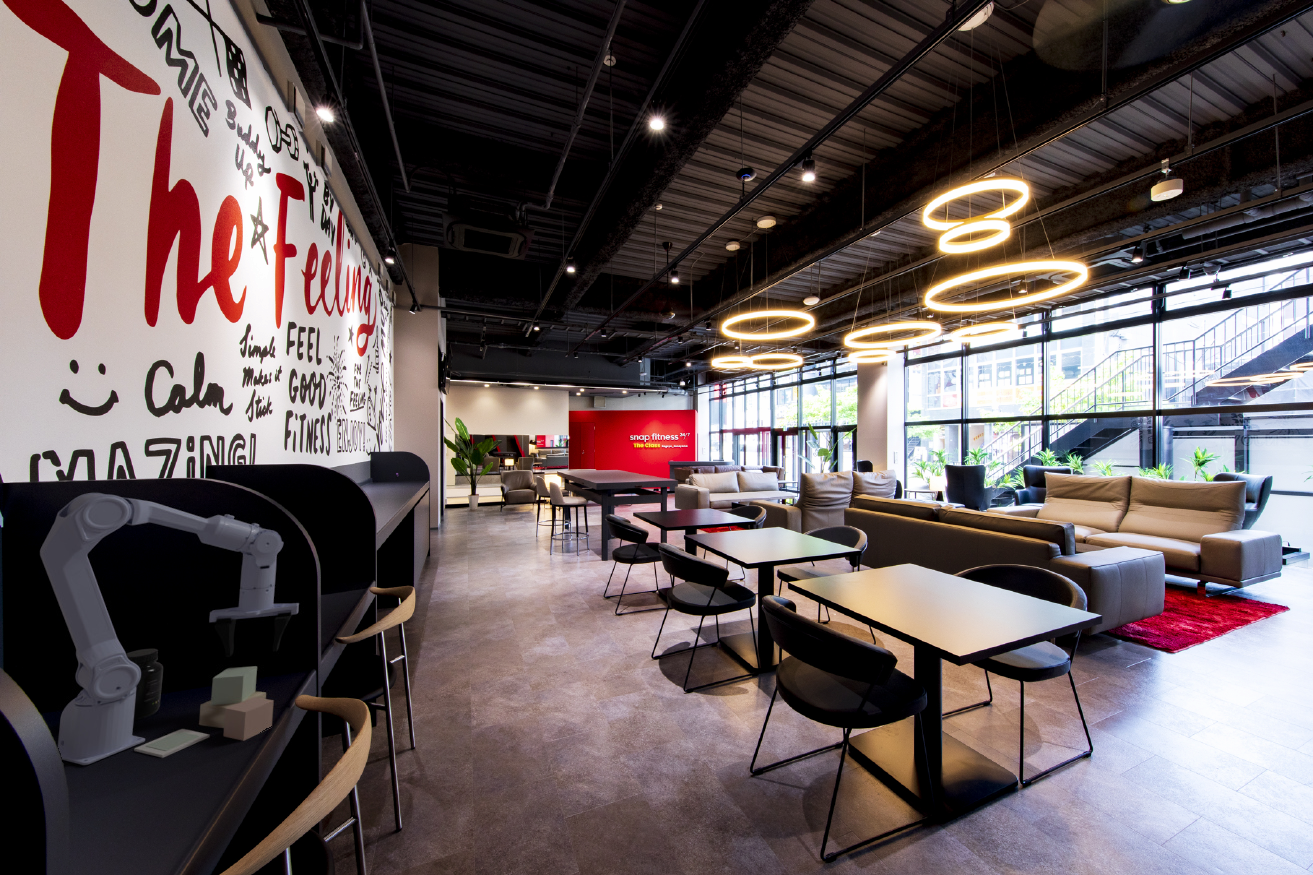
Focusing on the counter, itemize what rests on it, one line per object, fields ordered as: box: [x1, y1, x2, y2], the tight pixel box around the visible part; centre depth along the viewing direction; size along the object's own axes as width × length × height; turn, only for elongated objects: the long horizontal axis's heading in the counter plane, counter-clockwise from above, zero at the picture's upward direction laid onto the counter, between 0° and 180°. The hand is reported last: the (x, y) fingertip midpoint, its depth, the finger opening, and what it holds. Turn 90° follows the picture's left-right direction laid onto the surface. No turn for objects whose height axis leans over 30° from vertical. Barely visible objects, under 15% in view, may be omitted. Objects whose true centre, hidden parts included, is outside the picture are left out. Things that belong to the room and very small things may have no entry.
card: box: [134, 728, 210, 759], centre depth 89 cm, size 7×7×1 cm
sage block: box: [210, 665, 258, 705], centre depth 99 cm, size 5×5×5 cm
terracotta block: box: [223, 697, 275, 742], centre depth 94 cm, size 5×5×5 cm
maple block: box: [198, 690, 267, 729], centre depth 98 cm, size 7×7×4 cm
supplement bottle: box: [126, 648, 164, 722], centre depth 99 cm, size 7×7×12 cm
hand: (252, 652), depth 105 cm, fingers open, 7 cm apart
